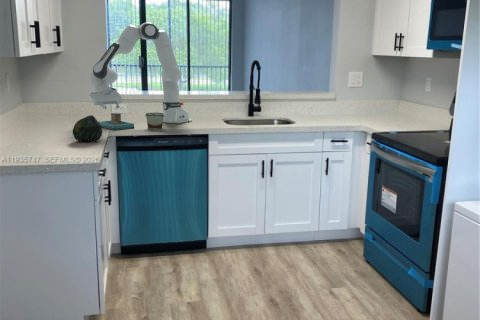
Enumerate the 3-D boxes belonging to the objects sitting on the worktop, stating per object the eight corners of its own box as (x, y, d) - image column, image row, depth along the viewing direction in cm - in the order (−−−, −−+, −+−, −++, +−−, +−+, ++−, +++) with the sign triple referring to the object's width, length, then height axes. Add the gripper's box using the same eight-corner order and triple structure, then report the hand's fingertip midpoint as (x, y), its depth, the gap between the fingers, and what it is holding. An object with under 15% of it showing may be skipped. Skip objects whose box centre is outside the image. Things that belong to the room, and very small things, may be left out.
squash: (66, 129, 252) (74, 111, 243) (92, 128, 263) (100, 110, 254) (75, 150, 247) (84, 131, 238) (101, 147, 257) (110, 130, 248)
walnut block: (117, 124, 303) (117, 112, 301) (121, 125, 300) (120, 113, 298) (111, 125, 300) (111, 113, 298) (115, 126, 297) (114, 113, 295)
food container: (166, 127, 302) (166, 112, 300) (164, 129, 296) (164, 113, 294) (148, 127, 303) (148, 112, 301) (145, 128, 298) (145, 113, 295)
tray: (117, 124, 312) (117, 119, 311) (134, 128, 298) (133, 123, 298) (98, 126, 302) (98, 121, 302) (114, 130, 289) (114, 125, 288)
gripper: (90, 89, 296) (98, 106, 292) (118, 88, 310) (126, 104, 306) (87, 96, 300) (95, 112, 296) (115, 94, 314) (123, 110, 310)
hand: (111, 108), depth 301 cm, fingers open, 8 cm apart
